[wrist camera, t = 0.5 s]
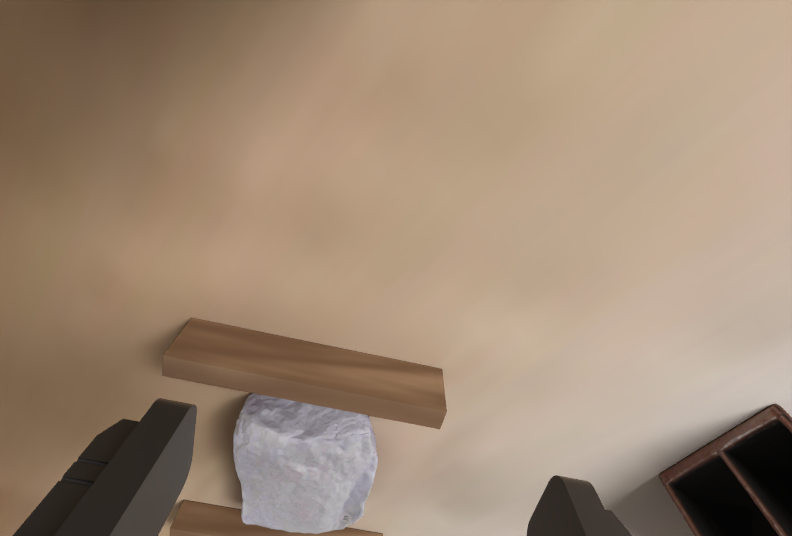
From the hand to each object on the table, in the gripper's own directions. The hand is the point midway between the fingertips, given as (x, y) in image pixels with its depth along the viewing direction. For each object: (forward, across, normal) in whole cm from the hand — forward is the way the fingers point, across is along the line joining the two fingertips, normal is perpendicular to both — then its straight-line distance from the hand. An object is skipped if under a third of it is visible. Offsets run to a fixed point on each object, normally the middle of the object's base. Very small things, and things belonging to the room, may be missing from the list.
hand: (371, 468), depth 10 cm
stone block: (+20, +1, +19) cm, 28 cm away
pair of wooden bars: (+20, +2, +19) cm, 27 cm away
